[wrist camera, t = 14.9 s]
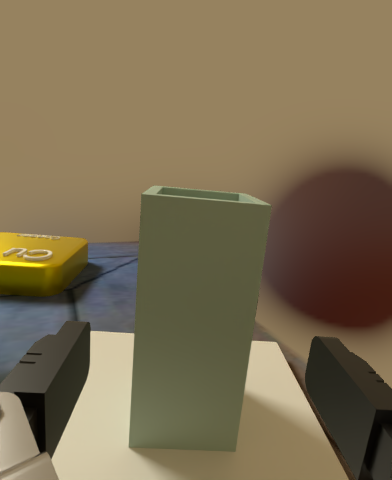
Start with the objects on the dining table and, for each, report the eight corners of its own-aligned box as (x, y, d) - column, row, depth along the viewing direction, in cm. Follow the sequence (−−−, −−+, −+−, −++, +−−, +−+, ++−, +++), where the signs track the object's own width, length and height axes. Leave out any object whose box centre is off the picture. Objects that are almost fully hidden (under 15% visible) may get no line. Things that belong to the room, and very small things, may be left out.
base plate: (402, 625, 12) (468, 436, 10) (-72, 622, 11) (-104, 410, 9) (274, 356, 30) (289, 265, 28) (82, 345, 29) (83, 250, 27)
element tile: (90, 263, 53) (91, 235, 52) (57, 300, 38) (56, 263, 37) (-2, 256, 52) (-4, 228, 50) (-74, 293, 37) (-78, 254, 36)
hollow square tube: (235, 451, 18) (271, 205, 14) (128, 447, 17) (141, 193, 14) (220, 367, 25) (242, 191, 22) (144, 363, 25) (156, 184, 22)
